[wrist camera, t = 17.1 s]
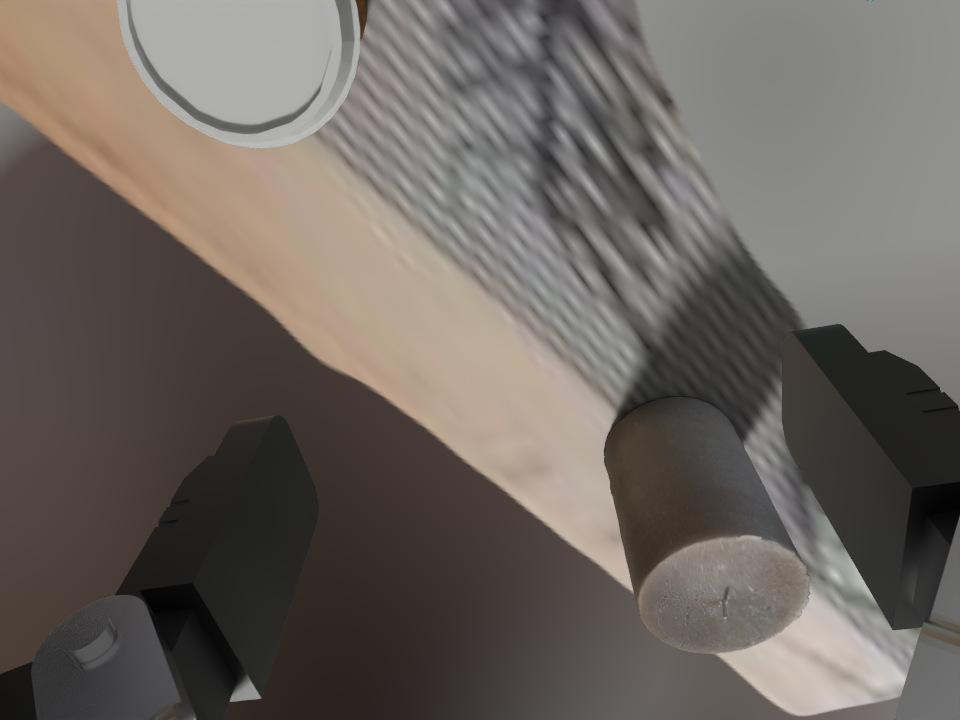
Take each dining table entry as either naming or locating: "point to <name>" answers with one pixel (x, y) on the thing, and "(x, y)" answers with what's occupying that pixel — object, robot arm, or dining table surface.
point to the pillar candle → (700, 530)
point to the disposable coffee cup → (246, 62)
